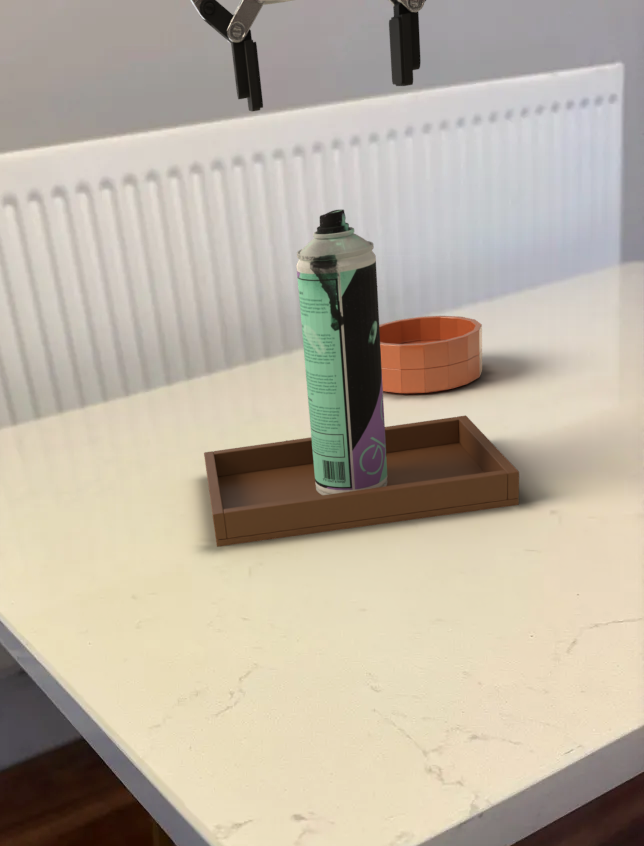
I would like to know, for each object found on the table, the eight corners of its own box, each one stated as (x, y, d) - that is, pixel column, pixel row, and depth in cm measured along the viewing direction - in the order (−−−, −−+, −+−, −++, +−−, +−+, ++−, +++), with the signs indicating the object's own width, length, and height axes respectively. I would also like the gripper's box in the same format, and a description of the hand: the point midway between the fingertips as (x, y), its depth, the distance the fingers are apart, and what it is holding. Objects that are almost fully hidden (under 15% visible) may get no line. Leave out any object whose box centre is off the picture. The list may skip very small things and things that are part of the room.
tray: (466, 445, 85) (466, 415, 84) (519, 506, 73) (519, 471, 72) (207, 481, 85) (203, 452, 84) (217, 548, 73) (212, 514, 72)
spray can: (393, 493, 76) (379, 210, 67) (320, 503, 76) (295, 222, 67) (381, 468, 81) (366, 200, 72) (312, 477, 81) (288, 212, 72)
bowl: (464, 358, 108) (463, 310, 105) (495, 386, 98) (495, 334, 95) (357, 373, 108) (354, 326, 106) (378, 403, 98) (376, 351, 96)
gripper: (436, -239, 62) (446, 76, 70) (153, -188, 63) (195, 118, 70) (470, -278, 55) (478, 75, 63) (154, -221, 56) (200, 121, 64)
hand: (329, 97), depth 67 cm, fingers open, 9 cm apart
